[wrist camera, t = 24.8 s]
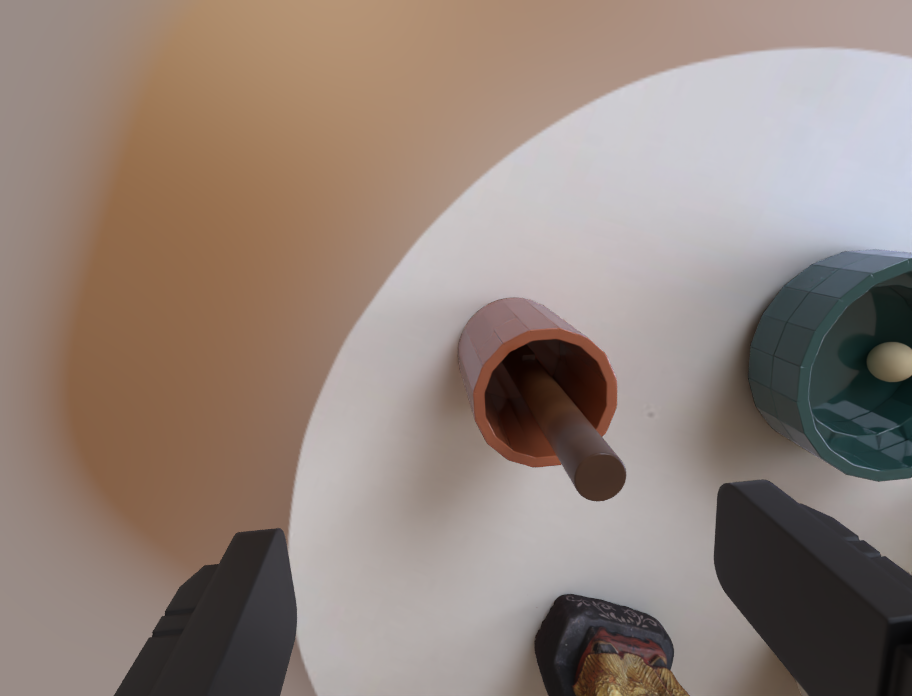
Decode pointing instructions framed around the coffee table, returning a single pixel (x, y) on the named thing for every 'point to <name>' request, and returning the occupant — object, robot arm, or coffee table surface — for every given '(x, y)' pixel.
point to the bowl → (839, 363)
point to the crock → (560, 354)
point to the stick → (566, 429)
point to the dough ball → (890, 361)
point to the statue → (604, 651)
